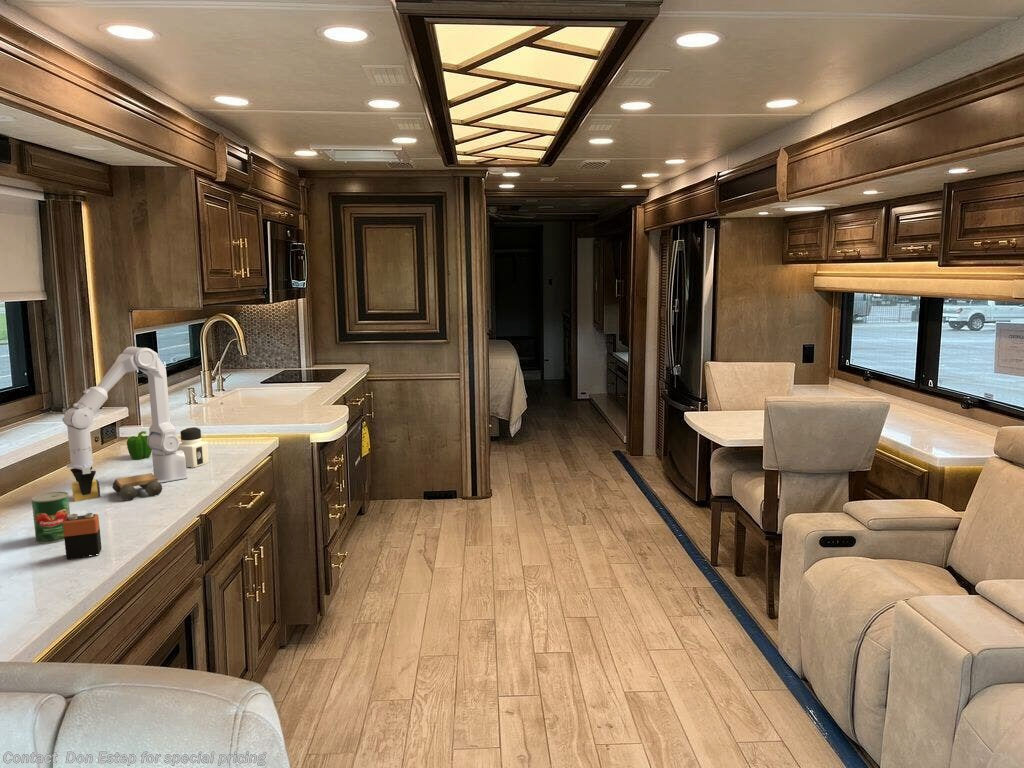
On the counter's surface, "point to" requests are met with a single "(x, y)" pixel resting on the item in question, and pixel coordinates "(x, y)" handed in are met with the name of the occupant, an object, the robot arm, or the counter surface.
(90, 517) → the battery
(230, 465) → the counter surface
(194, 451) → the container
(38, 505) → the canned tomato
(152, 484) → the trolley
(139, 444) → the bell pepper
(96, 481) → the block
